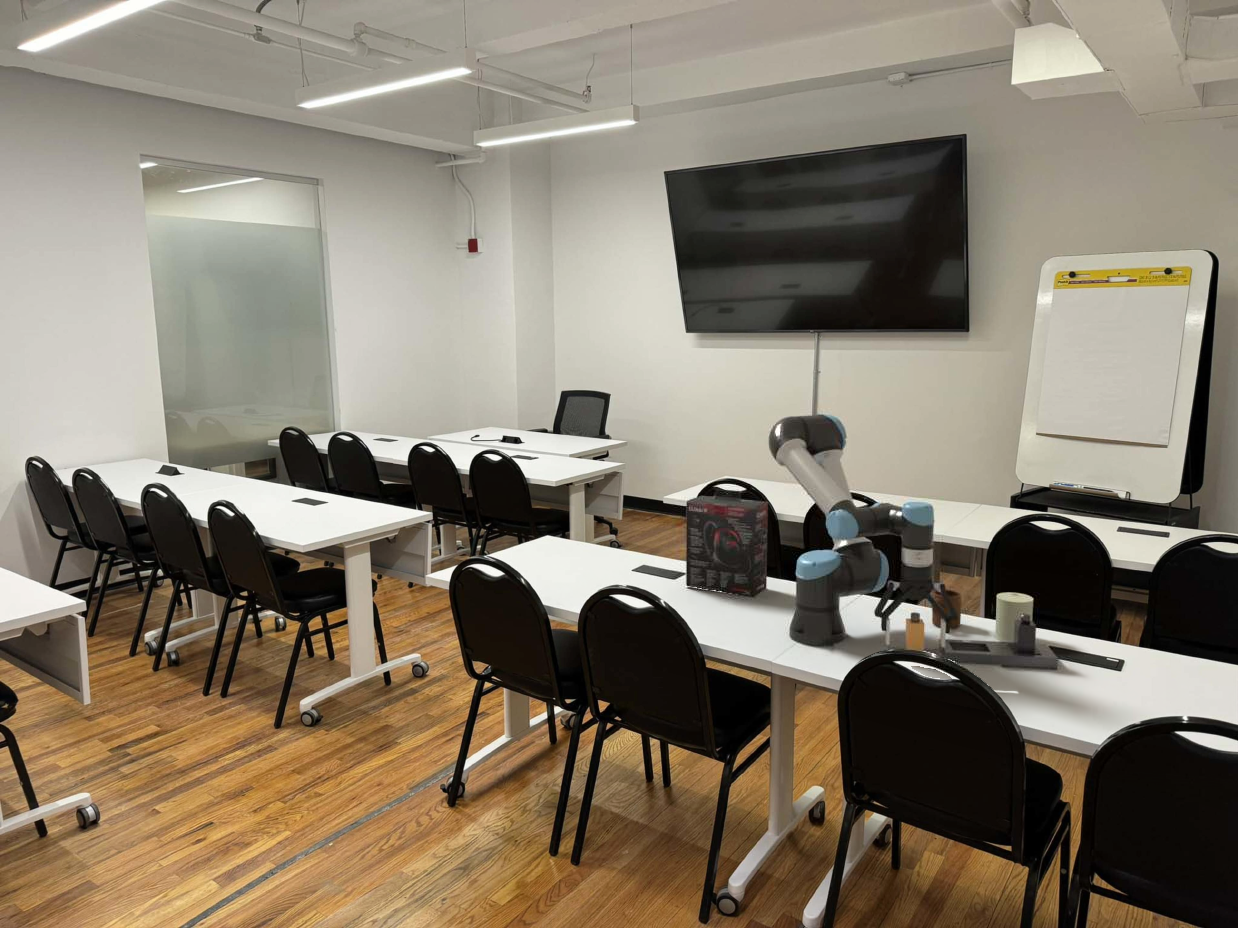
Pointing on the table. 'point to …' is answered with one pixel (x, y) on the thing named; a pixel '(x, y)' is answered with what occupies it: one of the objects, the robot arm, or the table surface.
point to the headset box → (726, 543)
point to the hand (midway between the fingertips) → (914, 644)
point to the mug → (956, 603)
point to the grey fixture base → (1004, 649)
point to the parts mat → (924, 649)
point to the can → (1010, 613)
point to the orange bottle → (914, 633)
